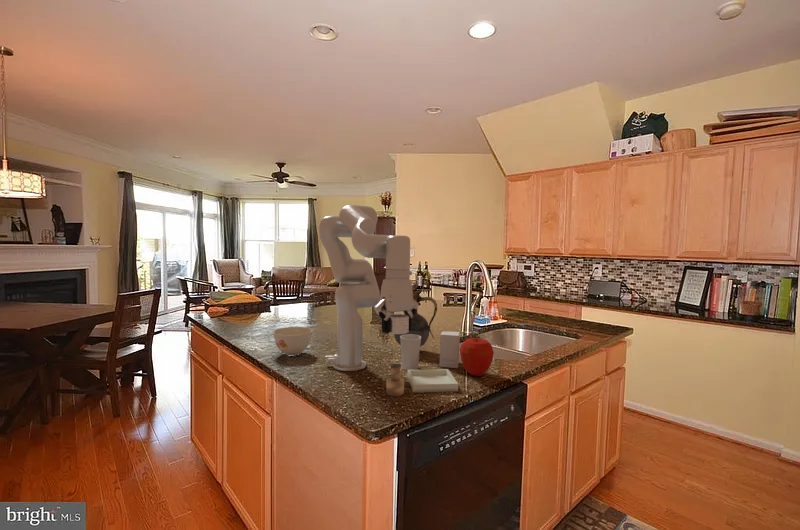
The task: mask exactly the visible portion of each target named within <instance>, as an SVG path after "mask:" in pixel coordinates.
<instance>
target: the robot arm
mask: <svg viewBox="0 0 800 530" xmlns="http://www.w3.org/2000/svg"><path fill="white" fill-rule="evenodd" d="M378 218H379V217H378V212H377V211H376V210H375V208H373V207H372V206H368V205H357V204H348V205H344V207H342V208H341V209H340V211H339V215H328V216H327V215H326V216H325V217H323V218H322V219H321V220H320V222H319V226H318V235H319V238H320V242H321V244H322V246H323V248H324V250H325V251H326V254H327V256H328V261H329V265H330V268H331V273H332V275H333V279H334V280H335V282H336V283H339V284H342V285H339V286H338V287H337V288H336V290H335V293H334V300H335V301H334V302H335V305H336V312H337V313H336V314H337V315H336V317H337V318H336V319H337V322H336V323H337V324H336V326H337V327H336V329H337V330H336V336H337V337H336V338H337V339H336V341H337V342H336V343H337V344H336V345H337V346H336V354H333V355H325V356H324V359H325V361H327V363H332V367H333V369H335V370H337V371H341V372H355V371H359V370H363V369H365V368H366V367H367V362H366V361H365V360H363V327H364V325H363V323H364V322H363V318H362V316H361V314H360V313H359V312H358V309H364V308H365V309H366V308H372V307H373V310H374V311H375V313H376V315H377V316H378V317H379V319H380V320H381V331H382V333H386V334H390V333H389V330H390V321H389V320H388V318H389V316H390V314H392V313H398V312H399V313H400V312H403V314H405V315H408V316H409V330H411V318H412V317H413V314H414V313H415V311H416V309H417V310H418V308H417V307H419V303H417V302H416V301H415V300H414V299H413V290H412V285H413V283H412V279H411V277H410V276H412V275H413V271H412V270H411V239H410V237H409V236H408V235H395V234H393V235H391V234H375V232H376V226H377V224H378V220H379V219H378ZM340 238H351V243H352V246H353V248H354V249H355V250H356V252H357V253H358V254H359V255H361V256H363V257H365V258H368V259H385V279H383V280H382V282H381V283H382V284H381V287H380V288H379V285H378V282H377V278H376V275H375V272H374V269H373V266H372V264H371V263H370V262H369V261H368V260H367V259H362V258H361V259H359V258H352V256H351V253H350V250H349V248H348V246H347V245H346V244H345V242H344V241H342V240H341V239H340Z"/></svg>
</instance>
